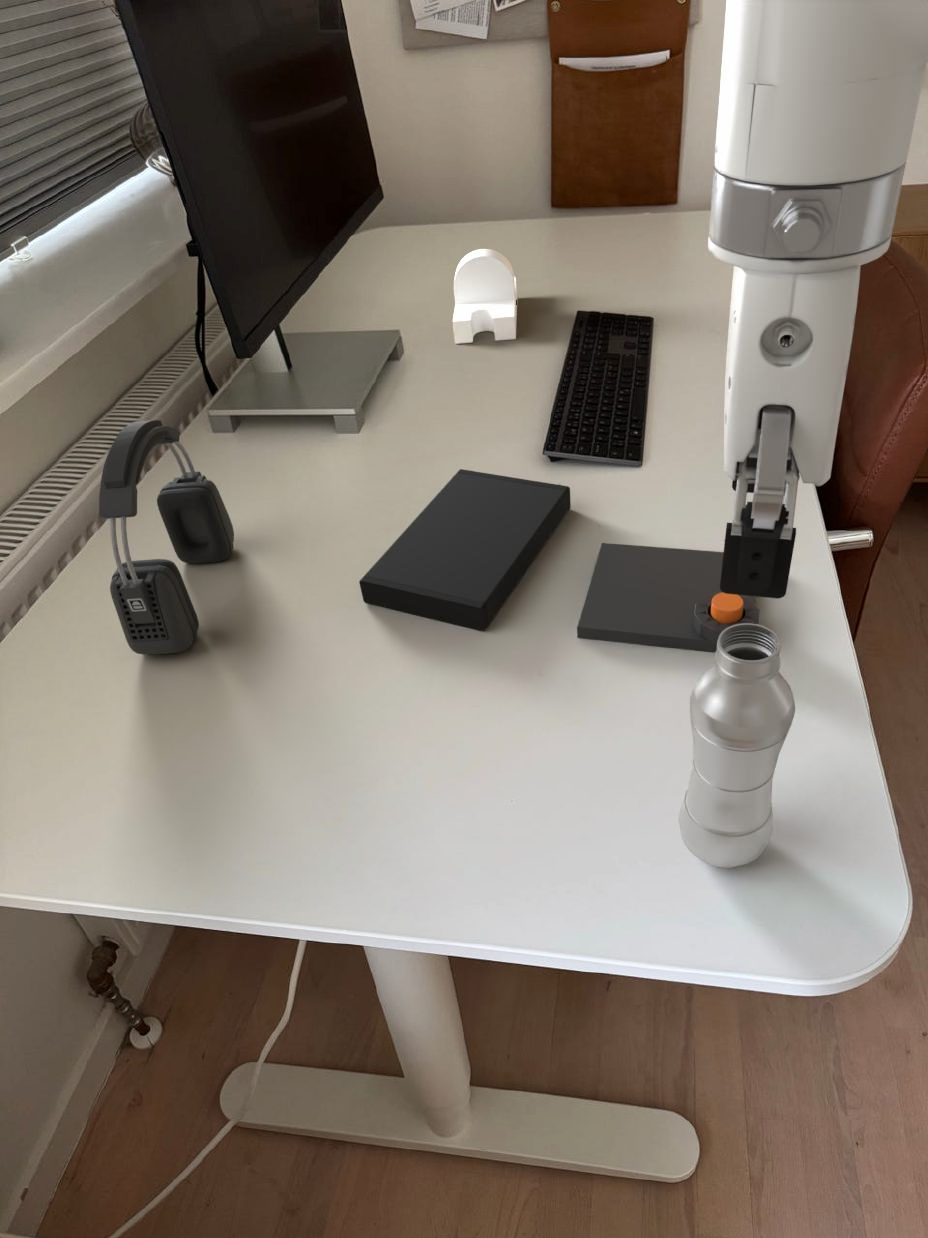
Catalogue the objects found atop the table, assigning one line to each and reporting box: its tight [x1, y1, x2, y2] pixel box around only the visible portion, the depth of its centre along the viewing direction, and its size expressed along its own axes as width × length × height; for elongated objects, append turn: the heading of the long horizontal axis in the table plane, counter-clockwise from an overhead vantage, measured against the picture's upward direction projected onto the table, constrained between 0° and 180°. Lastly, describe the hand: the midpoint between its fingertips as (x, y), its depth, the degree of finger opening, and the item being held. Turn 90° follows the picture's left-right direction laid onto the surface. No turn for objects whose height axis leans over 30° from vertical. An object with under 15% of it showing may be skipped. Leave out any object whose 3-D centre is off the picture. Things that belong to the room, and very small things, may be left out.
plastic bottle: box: [677, 623, 796, 869], centre depth 60 cm, size 6×7×20 cm
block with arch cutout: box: [452, 248, 518, 345], centre depth 146 cm, size 18×10×11 cm, turn 177°
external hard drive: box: [358, 468, 571, 632], centre depth 97 cm, size 14×23×3 cm, turn 154°
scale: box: [576, 542, 760, 653], centre depth 88 cm, size 16×14×3 cm
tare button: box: [711, 593, 744, 624], centre depth 82 cm, size 3×3×2 cm
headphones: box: [98, 419, 235, 656], centre depth 92 cm, size 22×6×20 cm, turn 178°
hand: (756, 538), depth 49 cm, fingers open, 9 cm apart
